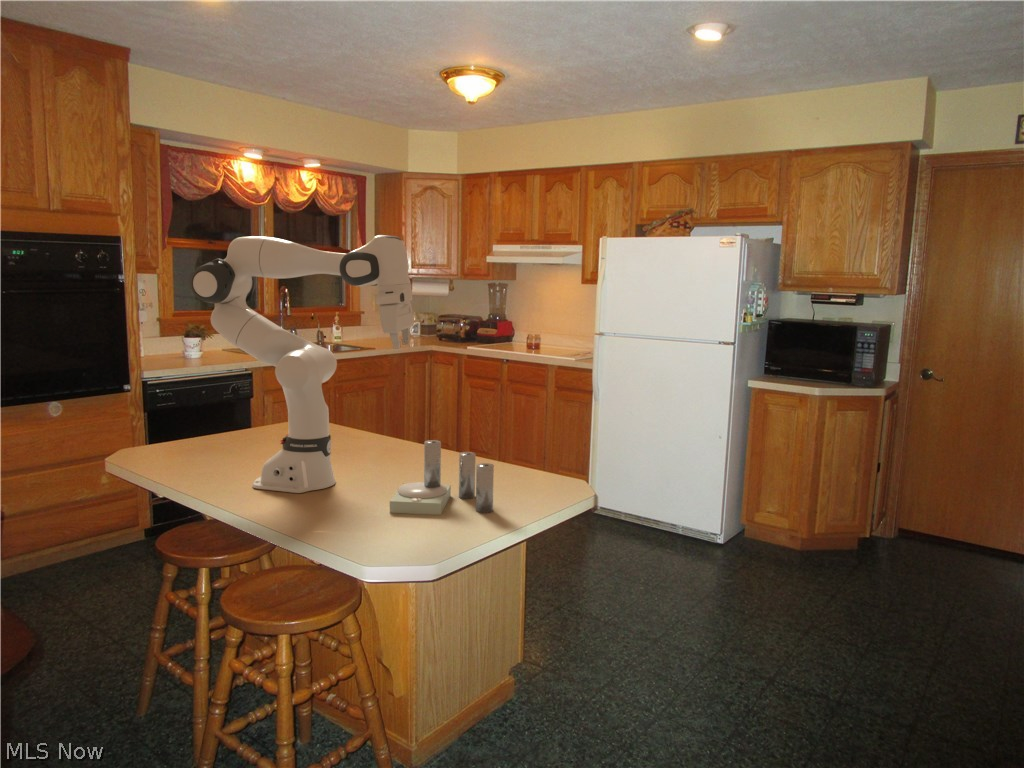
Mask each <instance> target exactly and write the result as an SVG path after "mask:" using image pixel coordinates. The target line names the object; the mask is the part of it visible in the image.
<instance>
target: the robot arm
mask: <svg viewBox="0 0 1024 768" xmlns="http://www.w3.org/2000/svg"><path fill="white" fill-rule="evenodd" d="M409 265H410V264H409V259H408V253H407V248H406V244H405V242H404V240H403V239H402V238H401V237H399V236H395V235H384V234H378V235H375V236H374V237H373V238H372V239H371V240H370V241H369V242H367V243H366V244H365V245H364V244H363V246H361V247H358V248H356V249H354V250H352V251H350V252H348V253H342V252H335V251H334V252H333V251H325V250H319V249H317V248H312V247H309V246H307V245H303V244H300V243H297V242H294V241H290V240H288V239H287V240H286V239H283V238H278V237H271V236H260V235H259V236H255V235H251V236H241V237H236V238H234V239H233V240H231V242H230V243H229V245H228V248H227V255H226V257H225V258H224V259H222V258H219V257H218V258H216V259H213V260H211V261H209V262H206V263H205V264H203V265H200V266H198V267H197V268H196V269H195V270H193V272H192V274H191V277H190V281H189V283H190V284H189V286H190V289H191V292H192V293H193V295H194V296H195V297H196V298H197V299H199V300H200V301H202V302H205V303H208V304H214V309H213V310H212V312H211V315H210V324H211V326H212V328H213V329H214V330H215V332H217V333H218V334H220V335H221V336H222V337H223V338H224V339H225V340H226V341H228V342H229V343H231V344H232V345H233V346H235V347H236V348H238V349H240V350H241V351H243V352H244V353H246V354H247V355H249V356H251V357H252V358H254V359H255V360H257V361H258V362H261V363H262V364H267V365H269V366H273V367H274V368H275V369H274V375H275V378H276V381H277V382H278V383H279V385H280V386H281V387H282V388H281V389H282V390H283V394H284V398H285V402H286V408H287V421H288V422H287V423H288V424H287V425H288V433H287V434H285V436H284V437H283V438H282V439H281V440H280V443H279V444H280V445H282V448H281V449H280V450H279V451H277V452H276V453H275V454H273V455H272V456H270V457H269V459H267V460H266V461H265V462H264V463H263V465H262V467H261V468H262V469H261V474H260V476H259V477H257V478H256V479H255V480H253V483H252V487H253V489H256V490H257V489H258V490H264V491H266V490H267V491H274V492H275V491H277V492H284V493H293V494H302V493H306V492H307V493H308V492H310V491H317V490H323V489H326V488H327V489H328V488H329V487H332V486H334V485H335V484H336V483H337V482H336V479H335V475H334V471H333V466H332V465H333V464H332V461H331V454H332V439H331V438H332V437H331V434H330V416H329V415H330V413H329V412H330V411H329V406H328V404H327V403H326V401H325V396H324V392H323V388H322V385H323V383H326V382H328V381H329V380H330V379H331V377H332V376H333V375H334V374H335V373H336V370H337V366H338V359H337V358H336V356H335V354H334V353H333V352H332V350H330V349H329V348H326V347H323V346H320V345H319V344H316V343H315V342H312V341H310V340H308V339H306V338H304V337H302V336H300V335H297V334H295V333H293V332H290V331H288V330H286V329H284V328H283V327H281V326H280V325H278V324H276V323H274V322H273V321H271V320H269V319H268V318H267V317H265V316H263V315H262V314H260V313H258V312H257V311H255V310H253V309H252V308H251V307H250V306H248V305H249V304H251V302H252V300H253V294H254V292H255V290H256V286H257V278H256V277H258V278H264V279H265V278H268V279H280V280H281V279H293V278H299V277H305V276H312V275H321V274H322V275H323V274H324V275H333V276H341V278H342V279H343V281H344V282H345V284H348V285H350V286H353V287H357V288H358V287H368V286H369V287H371V286H373V287H377V294H376V296H375V304H376V305H377V306H378V314H379V319H380V325H381V329H382V331H383V333H384V334H386V335H387V334H389V338H390V341H391V343H392V348H393V349H394V350H399V349H401V348H402V345H404V346H407V345H409V344H410V333H411V332H410V330H411V329H410V328H412V327H413V326H414V323H415V321H414V313H413V312H414V311H413V308H412V307H413V306H412V303H411V301H413V299H414V298H413V292H412V284H411V283H412V282H411V280H410V277H409V267H410V266H409ZM400 332H401V341H400ZM401 344H402V345H401Z"/></svg>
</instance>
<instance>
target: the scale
mask: <svg viewBox="0 0 1024 768" xmlns="http://www.w3.org/2000/svg"><path fill="white" fill-rule="evenodd" d="M451 487H452V485H449V484H442V483H441V486H440V487H437V488H427V487H425V486H424V481H417V482H409V483H408V482H407V483H403V484H402V485H400V486H399V487H398V488H397V491H396V493H395V494H394V495H393V496H392V498H391V499H390V500H389V513H392V514H410V515H411V514H412V515H413V514H414V515H432V516H433V515H435V516H441V515H442V513H443V511H444V510H445V508H446V505H447V504H448V502H449V500H450V498H451V492H452V491H451Z"/></svg>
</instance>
